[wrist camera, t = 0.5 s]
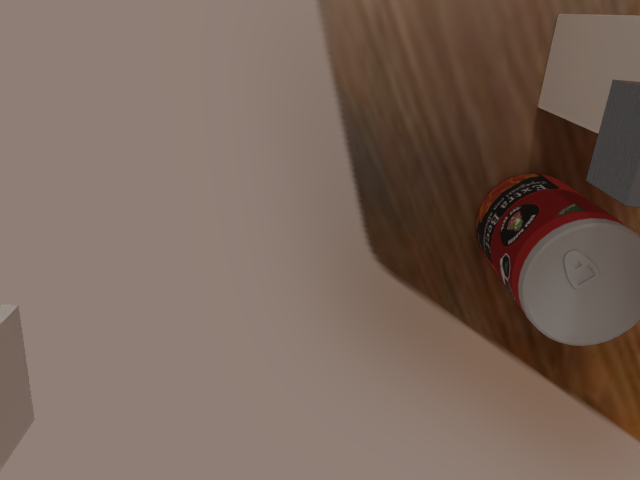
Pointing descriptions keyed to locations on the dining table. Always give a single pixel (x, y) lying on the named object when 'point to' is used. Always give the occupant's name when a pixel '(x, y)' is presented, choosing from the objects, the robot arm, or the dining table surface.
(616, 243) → the canned food
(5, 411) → the robot arm
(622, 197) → the steel bar
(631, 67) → the stand
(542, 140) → the dining table surface
